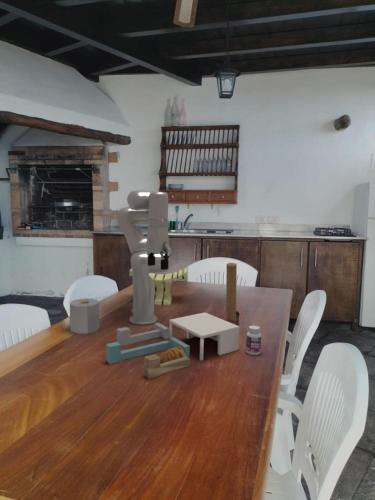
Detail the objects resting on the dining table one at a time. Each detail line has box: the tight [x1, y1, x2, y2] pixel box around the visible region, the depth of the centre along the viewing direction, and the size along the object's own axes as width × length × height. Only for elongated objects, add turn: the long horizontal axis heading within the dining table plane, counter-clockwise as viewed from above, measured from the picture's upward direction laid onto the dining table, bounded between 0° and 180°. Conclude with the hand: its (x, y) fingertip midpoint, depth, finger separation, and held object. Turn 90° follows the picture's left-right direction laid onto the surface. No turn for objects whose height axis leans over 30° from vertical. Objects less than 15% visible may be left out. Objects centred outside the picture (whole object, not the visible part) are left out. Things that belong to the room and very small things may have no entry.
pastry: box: [158, 347, 186, 363], centre depth 132 cm, size 9×7×4 cm
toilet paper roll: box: [69, 298, 101, 335], centre depth 160 cm, size 12×12×12 cm
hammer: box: [225, 262, 240, 326], centre depth 160 cm, size 20×5×30 cm, turn 164°
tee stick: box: [116, 322, 170, 347], centre depth 149 cm, size 8×20×6 cm, turn 126°
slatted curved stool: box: [128, 267, 189, 306], centre depth 205 cm, size 30×16×18 cm, turn 89°
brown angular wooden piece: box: [143, 353, 191, 380], centre depth 123 cm, size 3×16×6 cm, turn 126°
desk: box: [168, 312, 240, 361], centre depth 144 cm, size 20×18×9 cm
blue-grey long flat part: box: [105, 336, 191, 365], centre depth 132 cm, size 12×26×6 cm, turn 125°
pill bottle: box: [245, 325, 262, 356], centre depth 139 cm, size 5×5×10 cm
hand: (157, 267), depth 150 cm, fingers open, 9 cm apart
